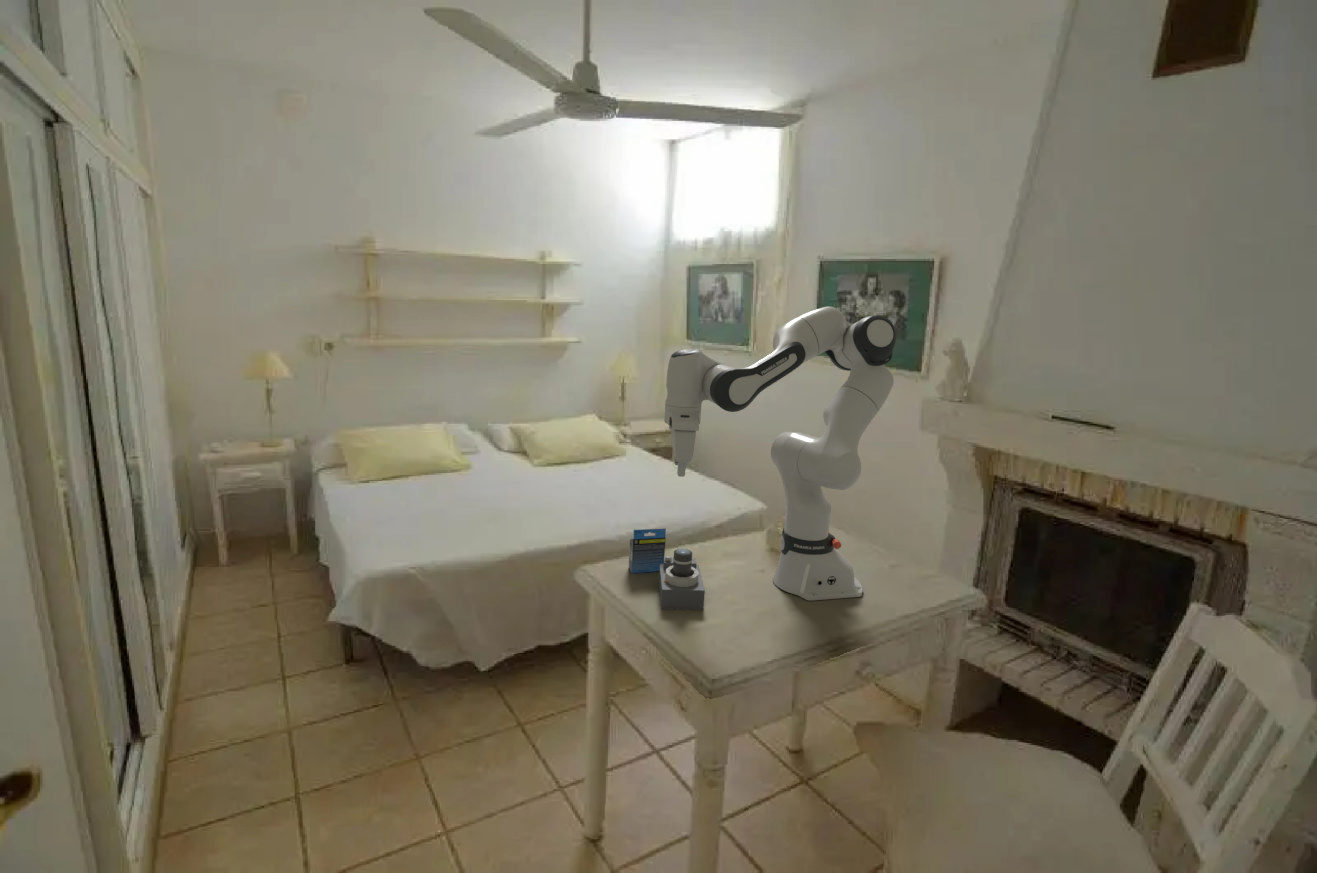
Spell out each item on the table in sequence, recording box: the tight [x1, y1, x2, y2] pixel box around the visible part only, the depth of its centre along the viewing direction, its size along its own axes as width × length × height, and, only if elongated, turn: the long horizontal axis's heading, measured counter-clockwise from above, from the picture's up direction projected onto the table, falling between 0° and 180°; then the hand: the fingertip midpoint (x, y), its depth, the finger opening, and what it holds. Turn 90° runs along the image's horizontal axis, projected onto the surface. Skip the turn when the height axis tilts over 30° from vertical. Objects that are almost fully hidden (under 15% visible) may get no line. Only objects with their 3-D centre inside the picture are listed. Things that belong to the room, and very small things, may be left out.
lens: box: [672, 548, 693, 577], centre depth 159 cm, size 4×4×7 cm
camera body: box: [658, 555, 706, 611], centre depth 161 cm, size 10×14×8 cm
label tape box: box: [628, 527, 667, 574], centre depth 174 cm, size 9×4×12 cm, turn 105°
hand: (679, 470), depth 165 cm, fingers open, 8 cm apart
